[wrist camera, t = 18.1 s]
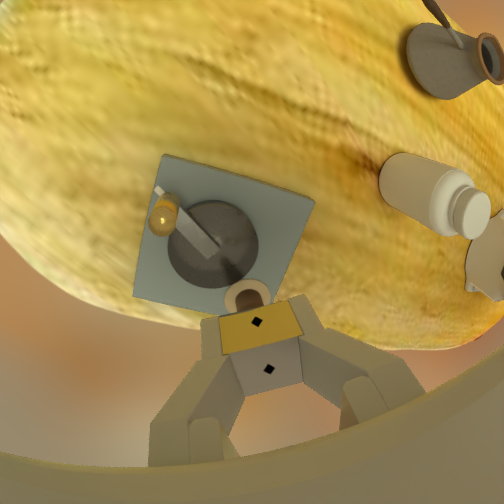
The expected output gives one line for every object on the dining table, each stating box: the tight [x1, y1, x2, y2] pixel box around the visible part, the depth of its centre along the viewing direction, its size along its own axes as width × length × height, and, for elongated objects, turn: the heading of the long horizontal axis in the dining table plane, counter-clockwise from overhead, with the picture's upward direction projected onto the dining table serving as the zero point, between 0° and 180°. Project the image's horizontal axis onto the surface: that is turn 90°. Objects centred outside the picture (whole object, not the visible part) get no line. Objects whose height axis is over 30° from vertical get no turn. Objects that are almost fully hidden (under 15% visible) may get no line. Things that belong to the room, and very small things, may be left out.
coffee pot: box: [406, 0, 504, 100], centre depth 22 cm, size 21×12×15 cm, turn 77°
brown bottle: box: [235, 289, 264, 312], centre depth 34 cm, size 3×3×9 cm
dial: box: [148, 192, 259, 289], centre depth 30 cm, size 10×13×8 cm
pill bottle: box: [379, 153, 491, 240], centre depth 30 cm, size 8×8×15 cm
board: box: [132, 154, 315, 315], centre depth 36 cm, size 18×18×2 cm
